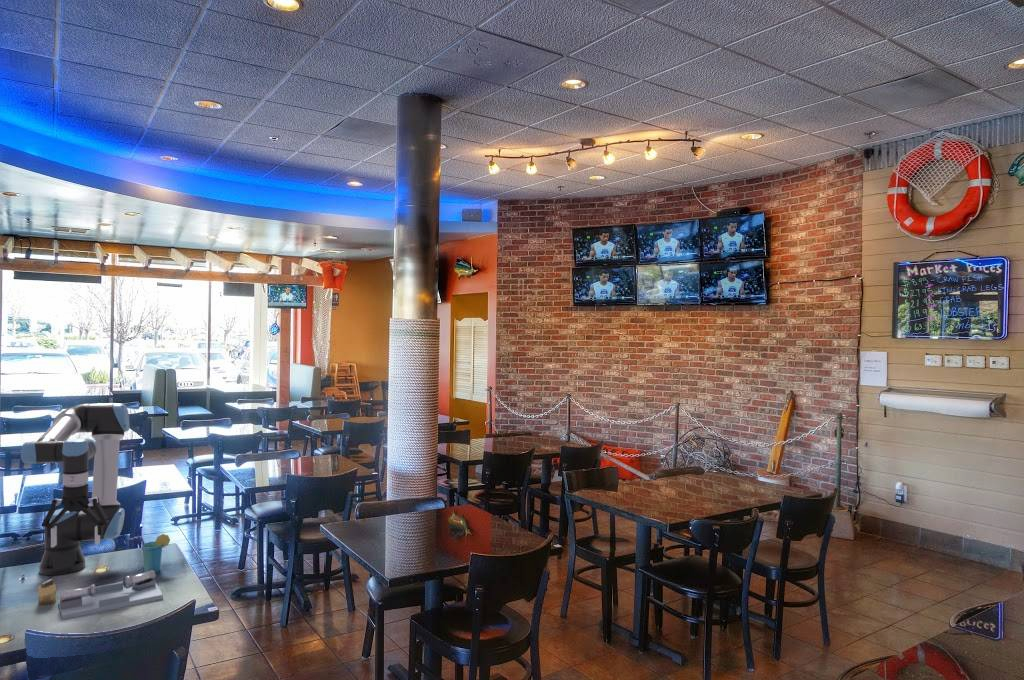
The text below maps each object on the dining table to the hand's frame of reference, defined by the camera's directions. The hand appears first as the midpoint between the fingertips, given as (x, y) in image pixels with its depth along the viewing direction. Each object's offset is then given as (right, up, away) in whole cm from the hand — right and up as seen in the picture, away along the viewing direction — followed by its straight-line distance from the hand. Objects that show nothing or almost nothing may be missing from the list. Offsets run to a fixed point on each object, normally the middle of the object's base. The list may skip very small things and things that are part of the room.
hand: (75, 545), depth 241 cm
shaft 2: (+16, -19, +11) cm, 27 cm away
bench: (+11, -20, +2) cm, 23 cm away
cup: (+10, -20, +30) cm, 37 cm away
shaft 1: (+3, -17, -4) cm, 18 cm away
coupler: (-10, -20, 0) cm, 22 cm away
